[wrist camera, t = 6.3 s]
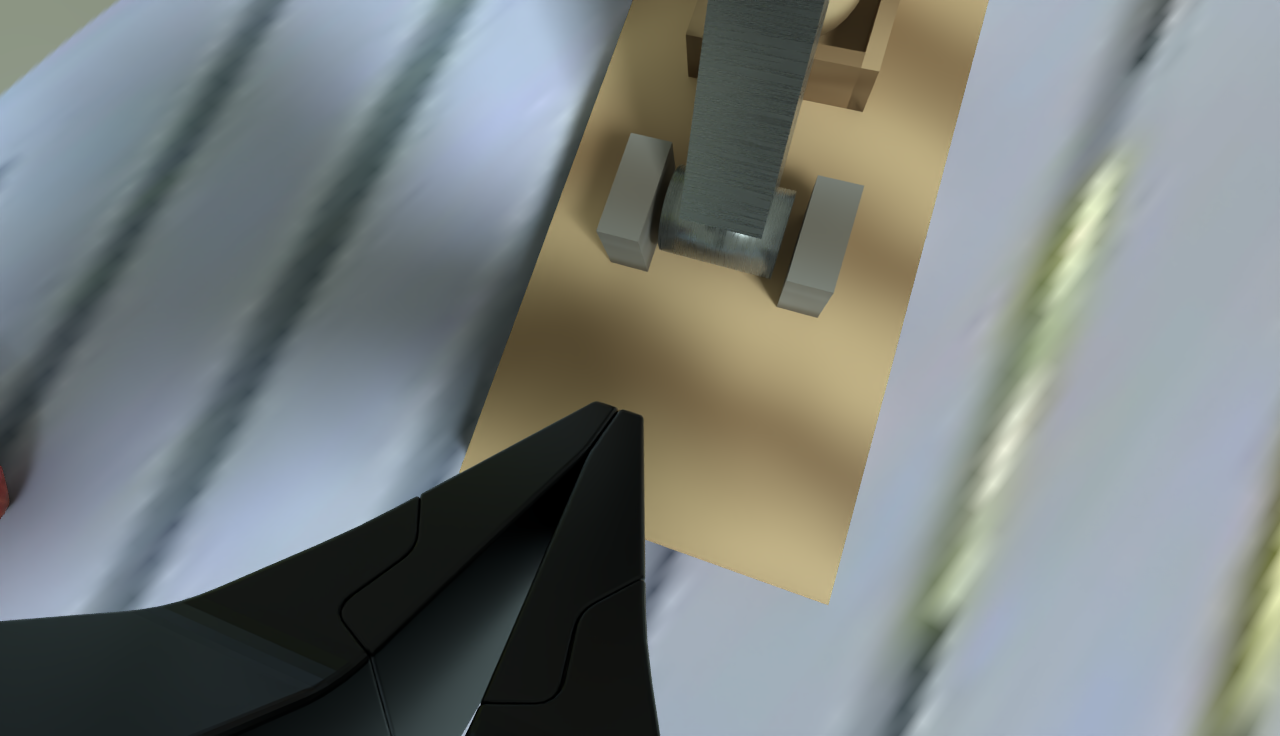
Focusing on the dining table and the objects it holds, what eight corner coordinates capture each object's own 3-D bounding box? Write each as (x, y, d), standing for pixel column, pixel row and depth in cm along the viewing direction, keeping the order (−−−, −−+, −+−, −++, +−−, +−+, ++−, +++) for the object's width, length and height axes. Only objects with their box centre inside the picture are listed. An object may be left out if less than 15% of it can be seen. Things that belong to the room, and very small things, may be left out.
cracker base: (818, 593, 16) (848, 627, 13) (479, 473, 18) (420, 472, 15) (975, 6, 19) (1038, -107, 16) (667, -46, 21) (657, -156, 18)
